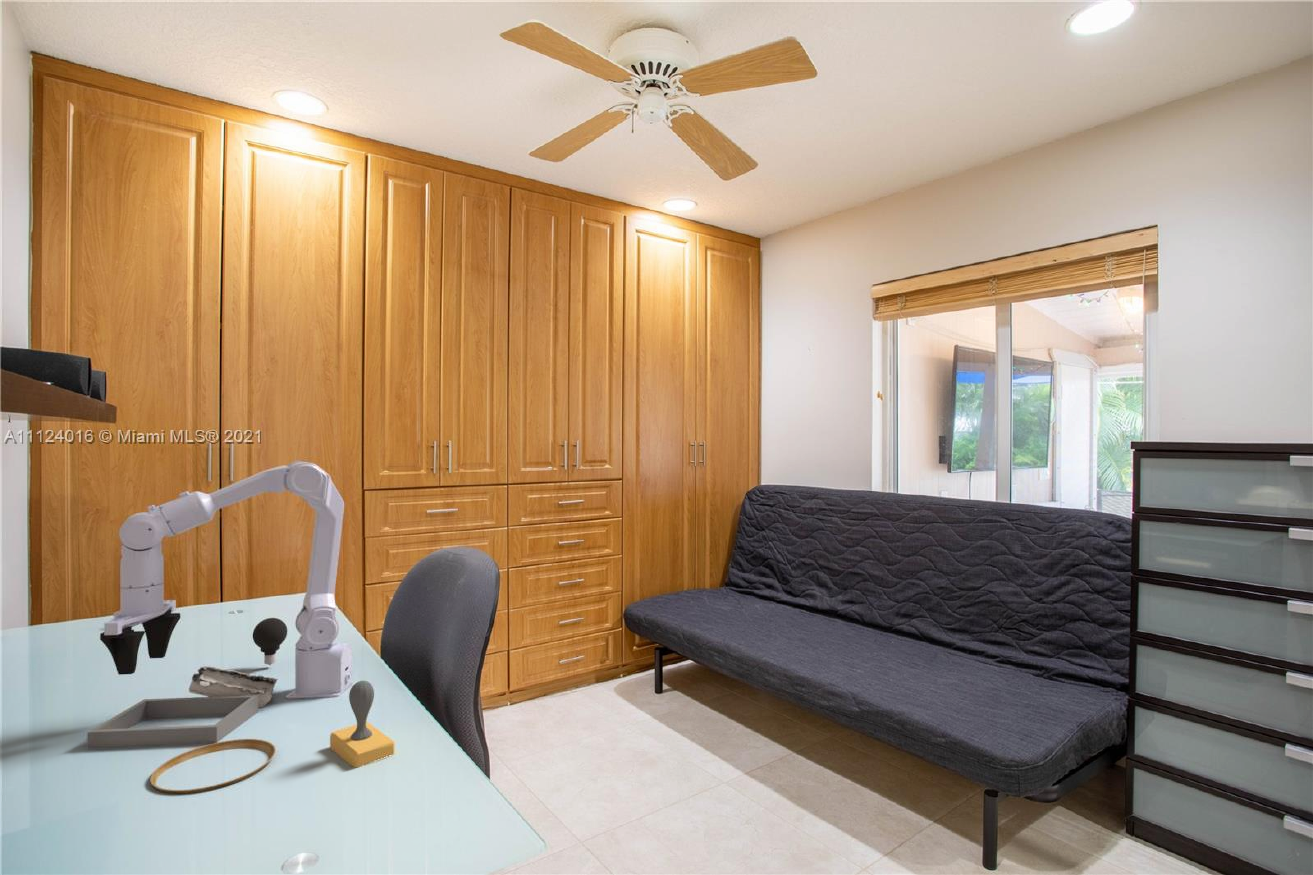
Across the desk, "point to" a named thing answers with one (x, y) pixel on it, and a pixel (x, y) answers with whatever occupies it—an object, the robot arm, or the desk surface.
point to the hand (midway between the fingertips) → (142, 665)
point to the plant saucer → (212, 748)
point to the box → (122, 735)
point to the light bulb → (270, 637)
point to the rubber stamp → (361, 731)
